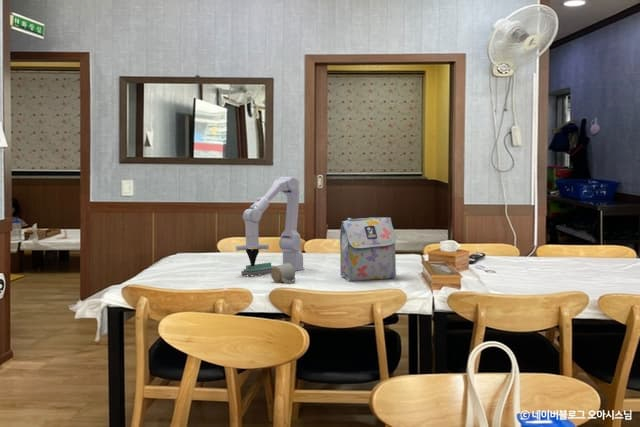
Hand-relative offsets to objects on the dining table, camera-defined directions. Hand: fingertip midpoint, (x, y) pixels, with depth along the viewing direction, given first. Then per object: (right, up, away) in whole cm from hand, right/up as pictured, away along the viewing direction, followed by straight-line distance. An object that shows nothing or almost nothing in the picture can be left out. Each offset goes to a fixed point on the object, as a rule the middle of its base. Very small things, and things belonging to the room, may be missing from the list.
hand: (252, 265), depth 317 cm
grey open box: (+3, -4, +7) cm, 8 cm away
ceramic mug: (+15, -6, -16) cm, 23 cm away
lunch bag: (+51, -5, -9) cm, 52 cm away
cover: (+3, -2, +7) cm, 8 cm away
